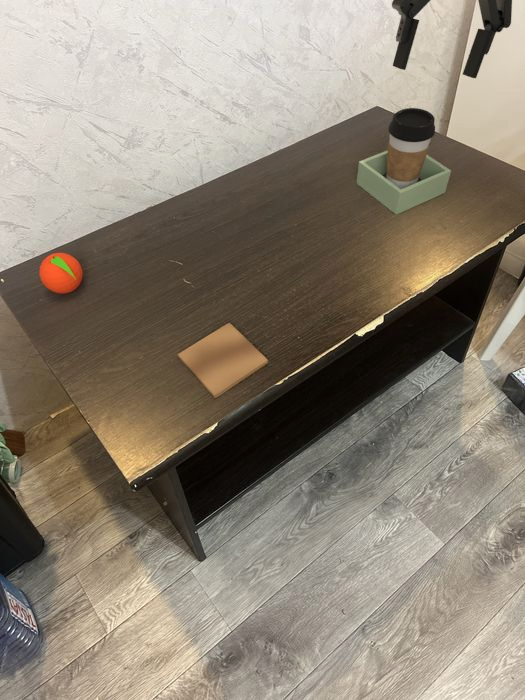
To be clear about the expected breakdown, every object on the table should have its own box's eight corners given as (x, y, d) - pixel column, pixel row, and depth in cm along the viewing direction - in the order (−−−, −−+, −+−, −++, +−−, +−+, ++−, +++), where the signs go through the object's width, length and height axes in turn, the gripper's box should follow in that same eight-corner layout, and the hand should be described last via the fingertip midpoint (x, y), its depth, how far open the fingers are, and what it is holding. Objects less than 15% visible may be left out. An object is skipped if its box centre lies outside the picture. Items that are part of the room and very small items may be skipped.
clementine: (100, 286, 89) (87, 256, 83) (69, 310, 86) (53, 280, 80) (71, 268, 92) (56, 238, 86) (40, 291, 89) (23, 260, 83)
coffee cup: (375, 196, 101) (386, 124, 89) (383, 173, 106) (395, 102, 94) (417, 203, 99) (434, 131, 87) (424, 179, 104) (441, 107, 92)
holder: (445, 192, 101) (451, 170, 97) (396, 214, 97) (400, 192, 93) (403, 163, 107) (407, 142, 104) (356, 183, 104) (358, 161, 100)
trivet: (268, 362, 77) (268, 359, 76) (215, 398, 73) (214, 395, 73) (229, 325, 82) (229, 322, 81) (178, 357, 78) (177, 354, 78)
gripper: (540, -86, 74) (482, 74, 87) (397, -124, 66) (356, 59, 79) (579, -86, 69) (511, 84, 82) (428, -128, 61) (378, 69, 73)
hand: (434, 72), depth 80 cm, fingers open, 13 cm apart
